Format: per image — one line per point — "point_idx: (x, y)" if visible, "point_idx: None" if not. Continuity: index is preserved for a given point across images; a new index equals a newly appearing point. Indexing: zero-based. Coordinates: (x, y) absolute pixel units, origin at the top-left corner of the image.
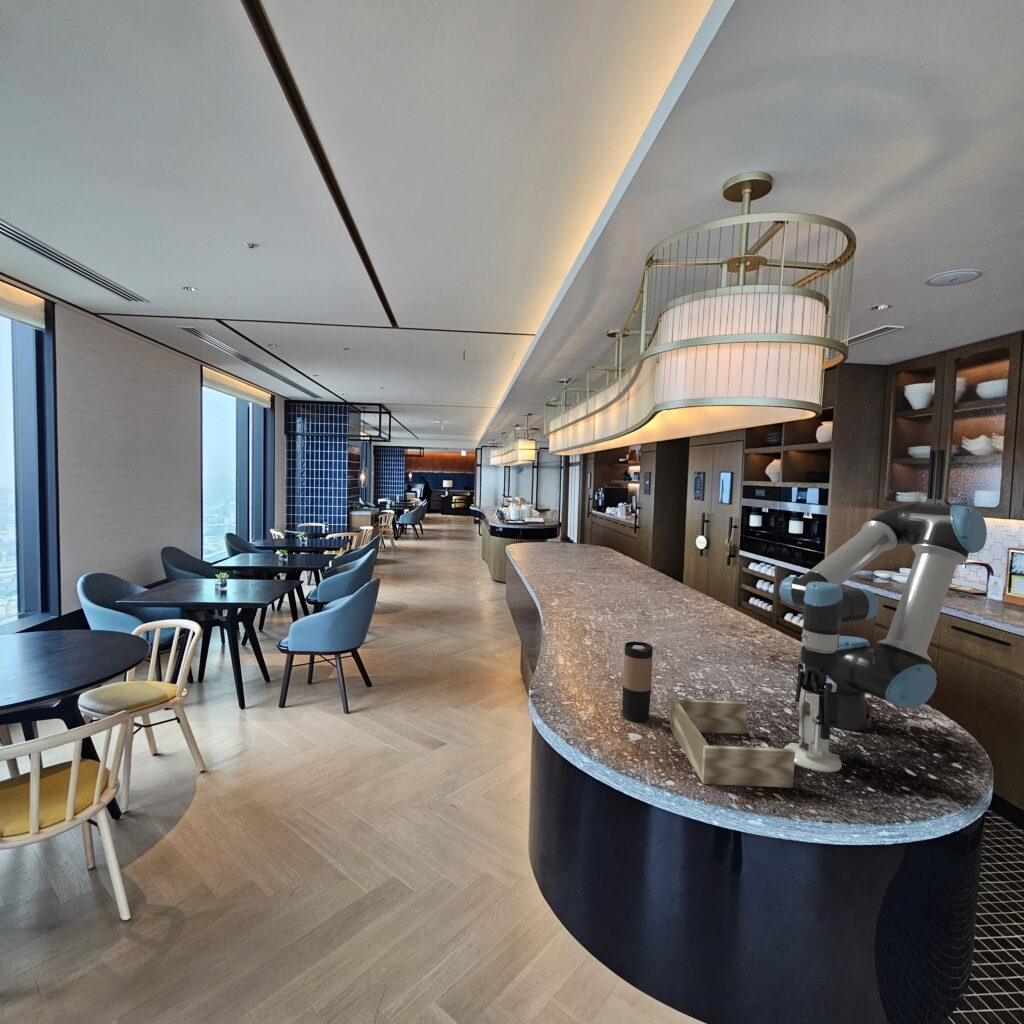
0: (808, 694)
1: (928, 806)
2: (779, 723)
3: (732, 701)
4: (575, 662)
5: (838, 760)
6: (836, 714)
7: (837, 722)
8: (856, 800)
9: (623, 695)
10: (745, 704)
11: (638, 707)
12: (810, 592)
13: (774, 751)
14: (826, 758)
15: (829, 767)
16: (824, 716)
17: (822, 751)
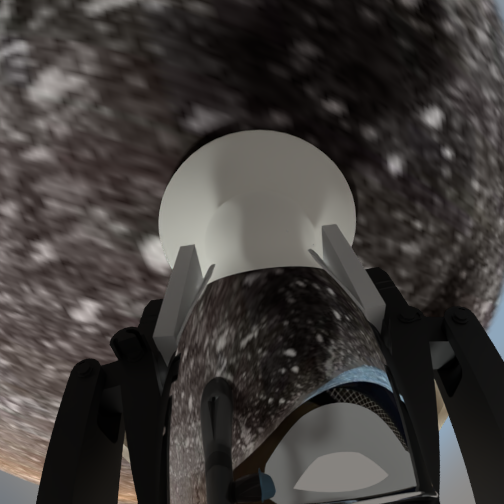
0: None
1: (481, 11)
2: (18, 253)
3: (129, 462)
4: (25, 471)
5: (274, 139)
6: (498, 367)
7: (479, 324)
8: (477, 196)
9: None
10: (127, 445)
11: None
12: None
13: (442, 423)
14: (267, 183)
15: (336, 200)
16: (445, 394)
17: (313, 234)
